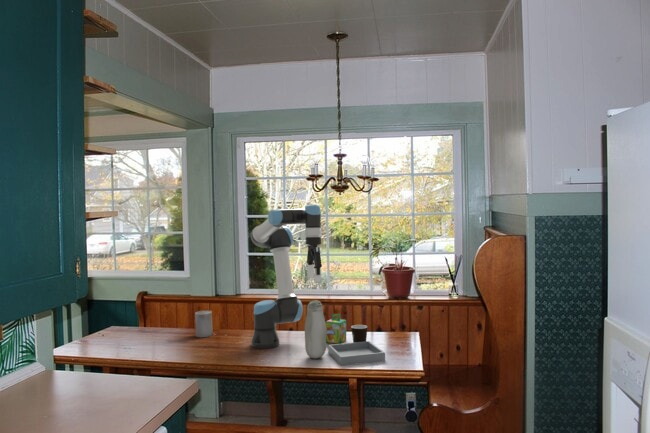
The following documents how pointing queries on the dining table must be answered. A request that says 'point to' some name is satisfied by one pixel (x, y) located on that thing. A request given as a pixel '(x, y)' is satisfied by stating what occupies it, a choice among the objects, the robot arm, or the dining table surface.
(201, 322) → the pillar candle
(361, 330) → the coffee mug
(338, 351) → the tray
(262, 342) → the robot arm
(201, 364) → the dining table surface
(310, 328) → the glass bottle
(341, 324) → the chalk box
